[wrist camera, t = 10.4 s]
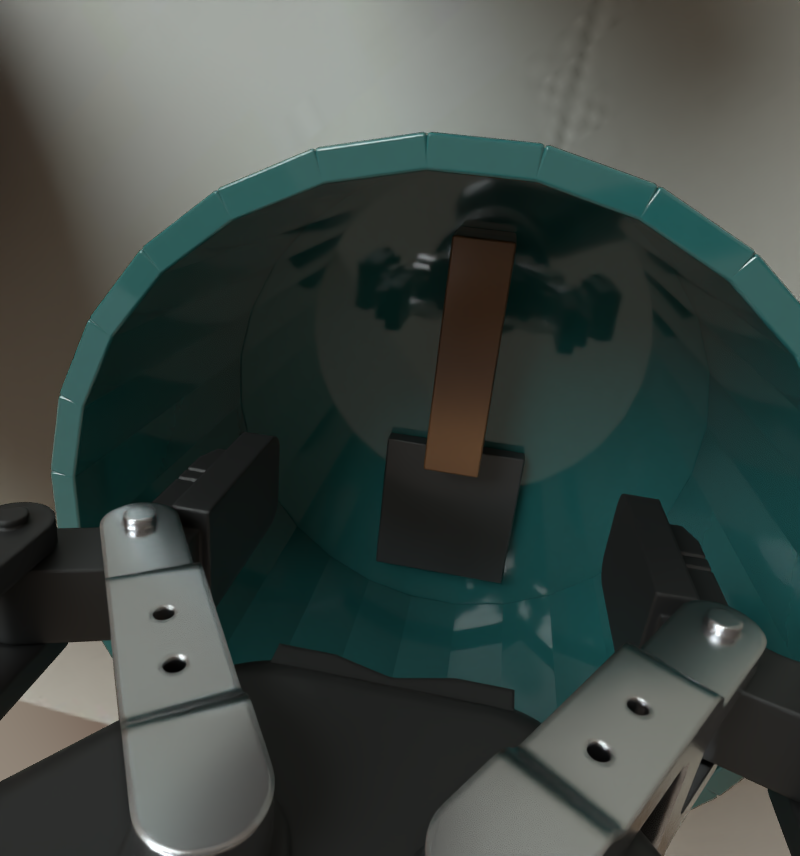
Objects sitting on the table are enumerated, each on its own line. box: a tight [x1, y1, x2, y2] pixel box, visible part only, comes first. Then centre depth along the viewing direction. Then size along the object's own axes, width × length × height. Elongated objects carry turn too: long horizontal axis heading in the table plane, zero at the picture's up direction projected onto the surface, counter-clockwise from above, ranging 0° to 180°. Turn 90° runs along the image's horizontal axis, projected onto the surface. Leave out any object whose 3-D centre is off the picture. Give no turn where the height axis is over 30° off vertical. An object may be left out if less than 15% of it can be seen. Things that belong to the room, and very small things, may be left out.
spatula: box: [376, 227, 525, 583], centre depth 22 cm, size 12×5×2 cm, turn 174°
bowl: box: [51, 132, 800, 810], centre depth 19 cm, size 17×17×10 cm
